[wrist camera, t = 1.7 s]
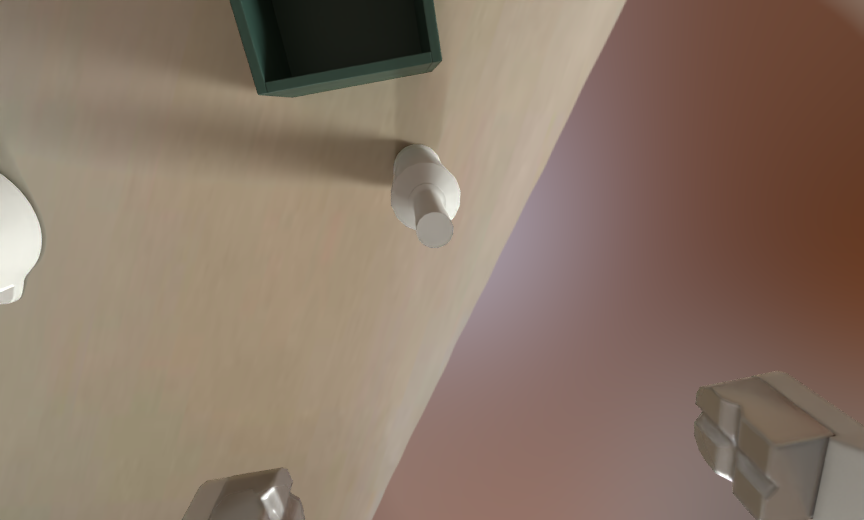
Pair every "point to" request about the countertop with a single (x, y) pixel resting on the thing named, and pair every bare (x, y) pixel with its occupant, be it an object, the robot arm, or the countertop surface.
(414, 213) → the bottle
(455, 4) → the countertop surface
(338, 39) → the bin
